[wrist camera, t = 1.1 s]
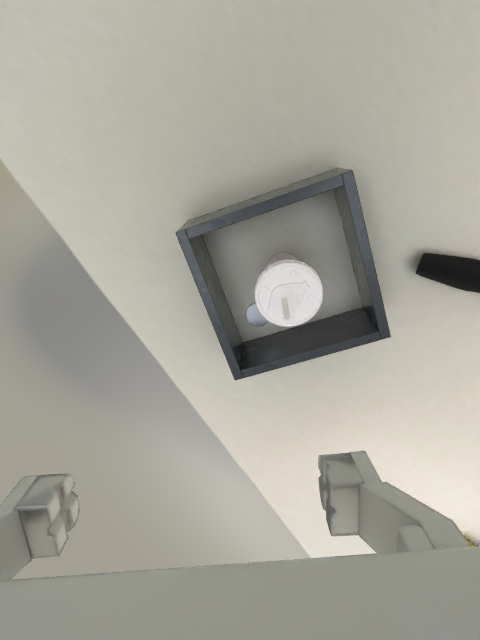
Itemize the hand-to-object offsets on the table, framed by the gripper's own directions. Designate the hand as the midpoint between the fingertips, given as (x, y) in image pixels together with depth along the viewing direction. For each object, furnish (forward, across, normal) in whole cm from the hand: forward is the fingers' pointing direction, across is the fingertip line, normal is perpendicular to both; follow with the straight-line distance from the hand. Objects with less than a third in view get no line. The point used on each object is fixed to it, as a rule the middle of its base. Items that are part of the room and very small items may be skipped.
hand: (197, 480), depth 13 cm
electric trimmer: (+34, -29, +2) cm, 44 cm away
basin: (+35, -7, -1) cm, 35 cm away
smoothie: (+35, -7, -1) cm, 35 cm away
